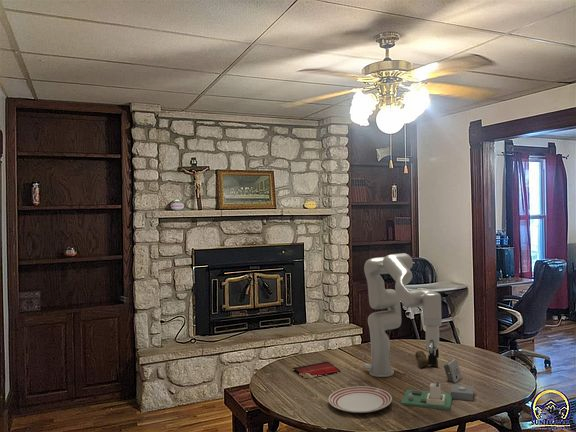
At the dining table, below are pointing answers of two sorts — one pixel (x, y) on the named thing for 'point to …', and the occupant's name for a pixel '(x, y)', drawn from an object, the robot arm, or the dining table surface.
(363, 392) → the dinner plate
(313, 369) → the binder
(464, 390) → the grey knob block
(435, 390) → the plug
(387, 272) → the robot arm
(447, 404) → the board
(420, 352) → the brown bone-shaped piece
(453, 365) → the electrical switch
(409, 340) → the dining table surface
